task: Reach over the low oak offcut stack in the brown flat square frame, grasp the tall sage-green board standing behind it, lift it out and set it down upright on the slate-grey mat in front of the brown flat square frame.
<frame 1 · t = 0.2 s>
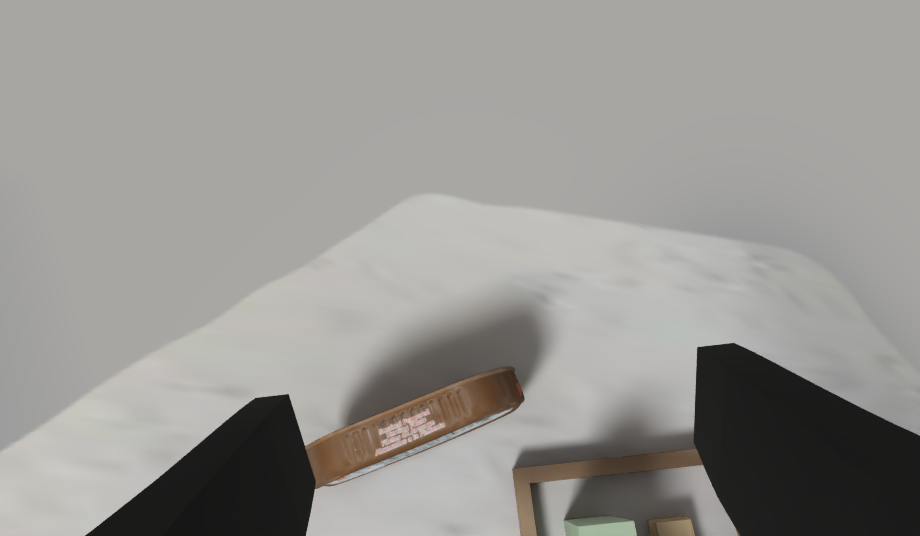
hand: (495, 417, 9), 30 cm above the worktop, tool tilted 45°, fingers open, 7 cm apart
tin: (425, 435, 39), on the worktop
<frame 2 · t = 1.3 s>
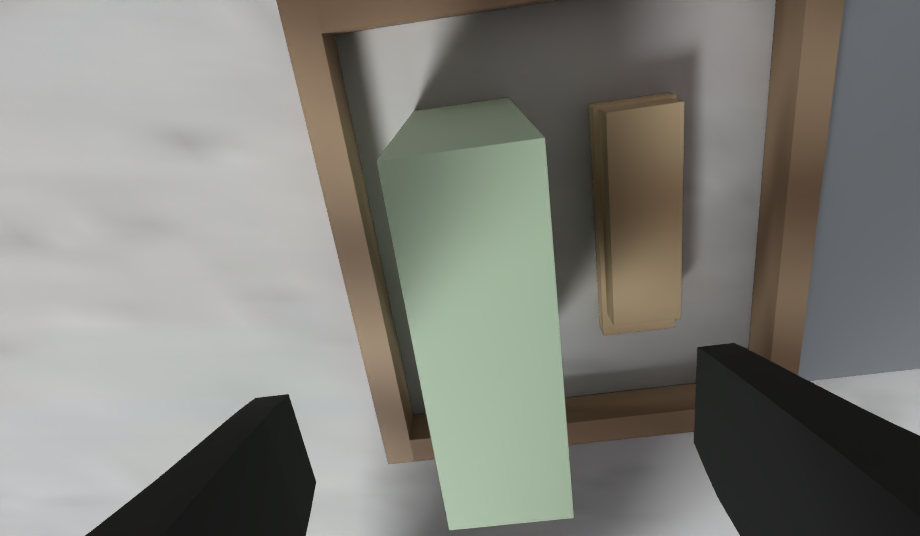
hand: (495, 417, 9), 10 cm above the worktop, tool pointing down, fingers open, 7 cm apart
brown flat square frame: (565, 227, 18), on the worktop
offcut stack: (628, 216, 19), resting in brown flat square frame
slate mat: (899, 184, 18), on the worktop
board: (478, 238, 19), resting in brown flat square frame
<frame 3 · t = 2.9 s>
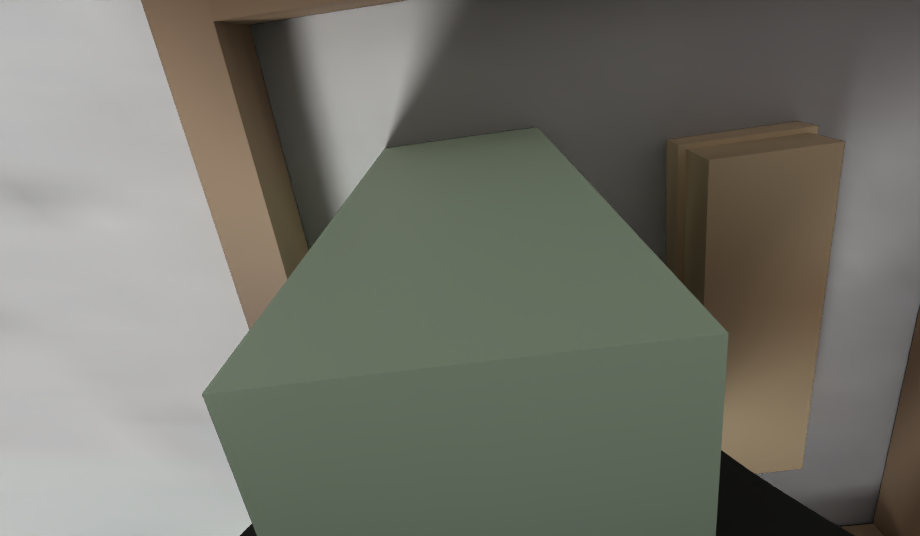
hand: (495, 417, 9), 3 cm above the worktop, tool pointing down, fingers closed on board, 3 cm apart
brown flat square frame: (621, 322, 12), on the worktop
offcut stack: (715, 305, 12), resting in brown flat square frame
board: (487, 337, 12), resting in brown flat square frame, touching gripper
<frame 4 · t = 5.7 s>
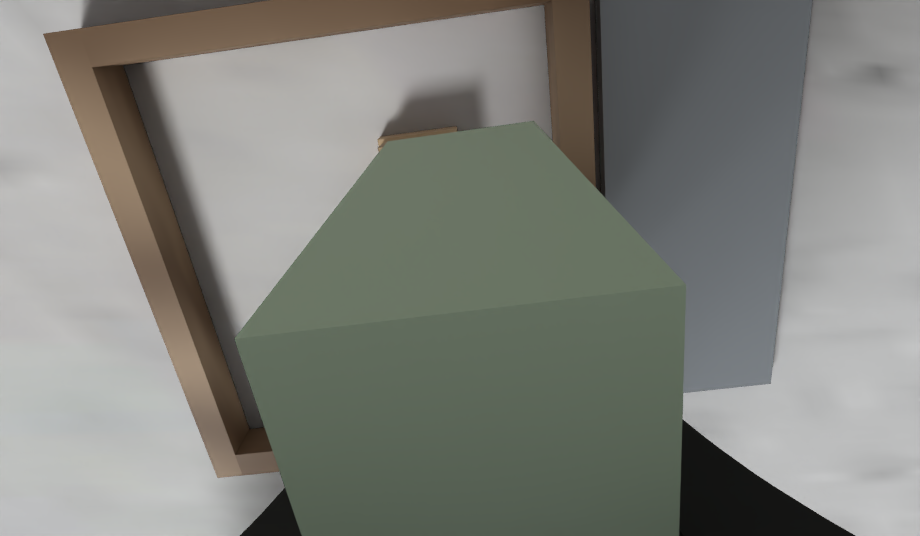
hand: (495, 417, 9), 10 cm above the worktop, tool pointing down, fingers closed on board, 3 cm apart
brown flat square frame: (373, 250, 19), on the worktop
offcut stack: (437, 242, 19), resting in brown flat square frame
slate mat: (690, 211, 18), on the worktop
board: (485, 324, 13), point 6 cm above the worktop, touching gripper
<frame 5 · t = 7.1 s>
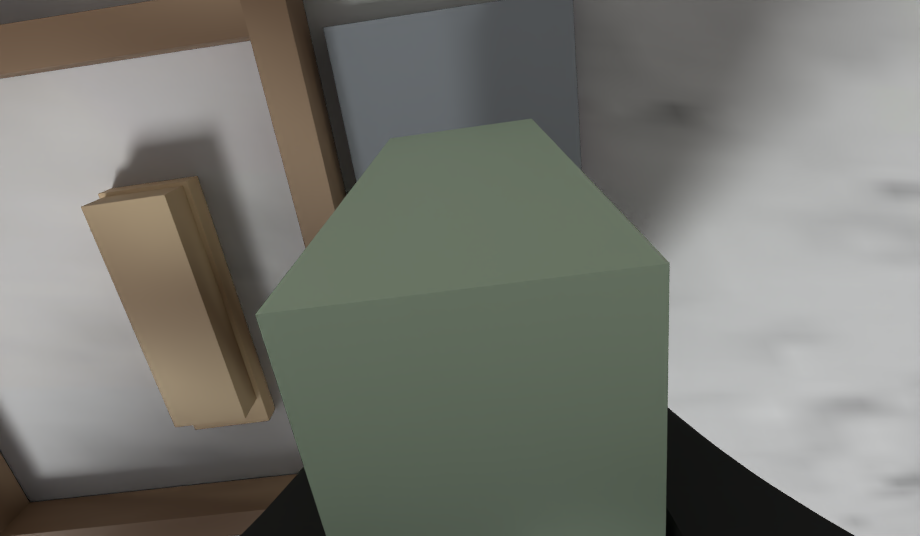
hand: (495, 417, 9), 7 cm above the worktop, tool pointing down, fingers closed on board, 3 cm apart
brown flat square frame: (128, 312, 17), on the worktop
offcut stack: (205, 302, 17), resting in brown flat square frame
slate mat: (480, 267, 16), on the worktop
board: (485, 317, 13), point 3 cm above the worktop, touching gripper
when the fingers open (5 cm above the worktop, at t = 8.3 s): board stays where it is, resting on slate mat.
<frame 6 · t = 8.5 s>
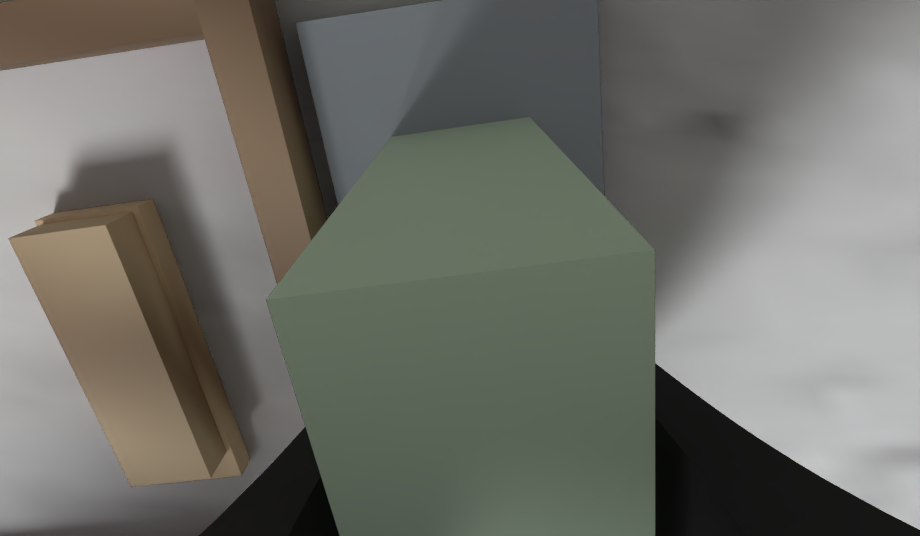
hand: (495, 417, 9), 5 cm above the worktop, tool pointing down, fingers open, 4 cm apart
brown flat square frame: (77, 352, 14), on the worktop
offcut stack: (168, 341, 15), resting in brown flat square frame
slate mat: (484, 302, 14), on the worktop
board: (485, 312, 13), point 1 cm above the worktop, touching slate mat
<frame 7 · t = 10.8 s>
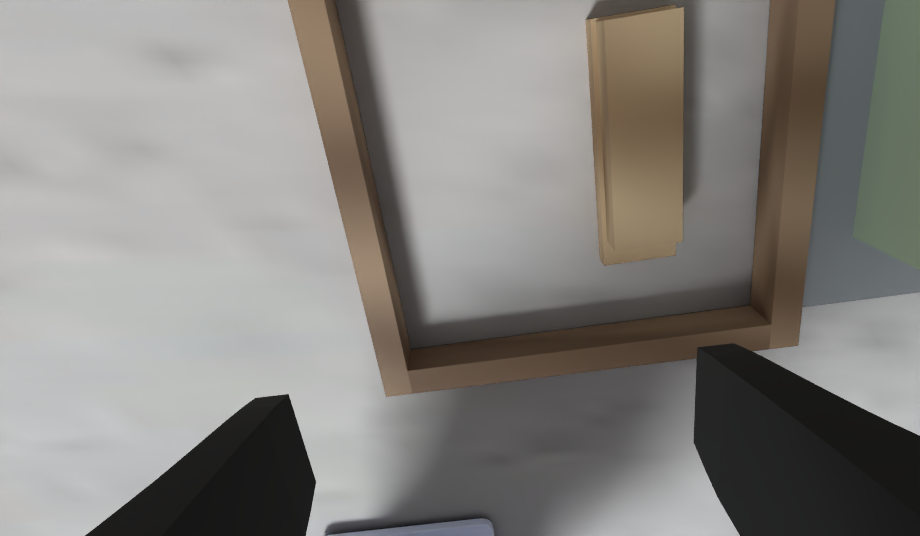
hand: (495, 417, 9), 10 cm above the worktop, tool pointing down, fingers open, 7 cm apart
brown flat square frame: (563, 145, 18), on the worktop
offcut stack: (627, 141, 18), resting in brown flat square frame
slate mat: (906, 94, 17), on the worktop
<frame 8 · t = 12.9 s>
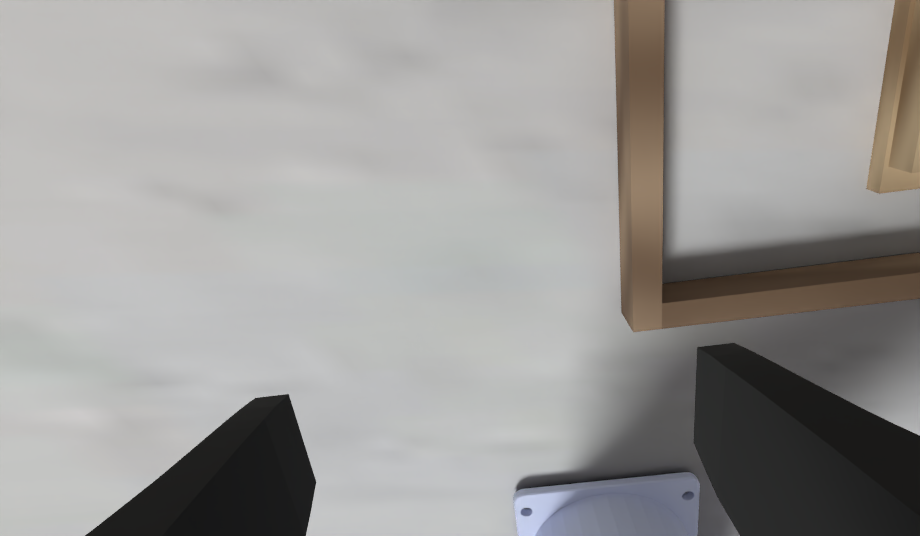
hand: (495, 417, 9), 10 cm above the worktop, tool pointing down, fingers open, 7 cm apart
brown flat square frame: (855, 60, 17), on the worktop
offcut stack: (916, 60, 17), resting in brown flat square frame
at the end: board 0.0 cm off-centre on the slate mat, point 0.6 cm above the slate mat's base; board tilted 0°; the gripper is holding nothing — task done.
